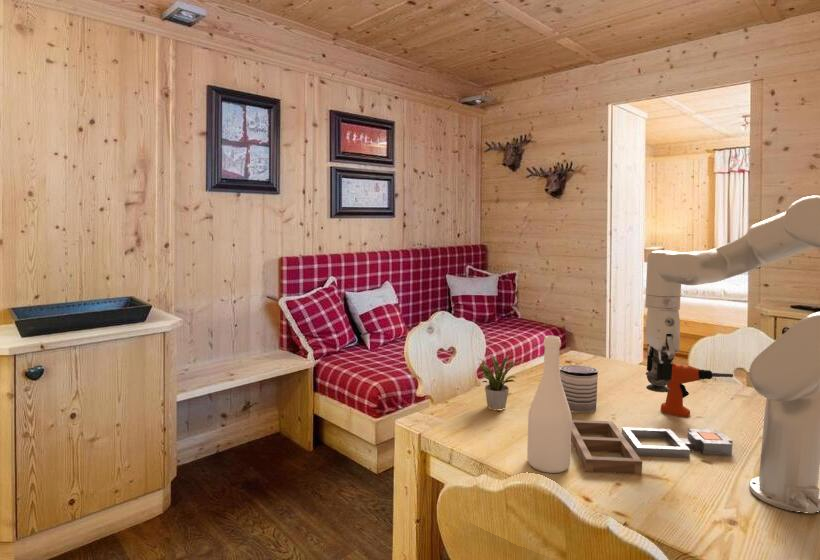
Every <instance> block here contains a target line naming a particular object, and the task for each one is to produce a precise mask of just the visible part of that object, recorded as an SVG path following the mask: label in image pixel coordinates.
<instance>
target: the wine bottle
mask: <svg viewBox="0 0 820 560" xmlns="http://www.w3.org/2000/svg"><path fill="white" fill-rule="evenodd" d="M561 340H562V339H561V338H560V336H558V335H546V336H545V337H544V339H543V347H544V354H543V355H544V356H543V369H542V370H543V372H542V375H541V379H540V382H539V384H538V386H537V389H536V392H535V395H534V396H533V399H532V402H531V404H530V407H529V411H528V416H527V418H528V419H527V420H528V421H527V448H526V449H527V453H526V454H527V457H526V459H527V462H528V464H529V465H530V466H531V467H532V468H533V469H535V470H537V471H539V472H543V473H547V474H548V473H549V474H557V473H562V472H565V471H567V470H568V469H569V467H570V464H571V447H572V446H571V445H572V442H571V425H572V420H573V417H572V416H573V415H572V412H571V411H570V408H569V405H568V402H567V399H566V395H565V392H564V389H563V385H562V382H561V379H560V369H559V368H560V348H561V346H562V345H561V344H562V341H561Z"/></svg>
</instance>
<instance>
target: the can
mask: <svg viewBox="0 0 820 560" xmlns="http://www.w3.org/2000/svg"><path fill="white" fill-rule="evenodd" d="M599 370H600V369H599V368H597V367H592V366H588V365H577V364H576V365H574V364H572V365H571V364H570V365H569V364H568V365H559V374H560V379H561V382H562V385H563V389H564V392H565V395H566V399H567V402H568V405H569V408H570V412H571V411H573V412H572V413H576V412H578V413H577V414H581V413H582V414H583V413H584V414H586V413H587V414H589V413H592V412H595V411H597V403H598V402H597V398H598V379H599V378H598V377H599V376H598V374H599Z"/></svg>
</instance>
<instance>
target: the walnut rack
mask: <svg viewBox="0 0 820 560" xmlns="http://www.w3.org/2000/svg"><path fill="white" fill-rule="evenodd" d="M581 434H584V435H585V434H586V435H587V434H588V435H608V436H609V437H598V436H597V437H595V436H581ZM571 445H572V446H573V449H574V448H575V449H574V450H575V453H576V454H577V457H578V458H579V461H580V462H581V465H582V467H583V470H584V471H585V473H600V474H601V473H602V474H619V475H620V474H621V475H622V474H624V475H642V473H643V460H642V459H641V458H640V456H638V455H637V454H636V452H635V451H634V450H633V448H632V447H631V445H630V444H629V443H628V441H627V440H626V439H625V437H624V436H623V435H622V431H621V430H620V428H618V426H617V425H616V424H615V423H614V421H611V420H610V421H609V420H608V421H607V420H583V419H581V420H579V419H572V425H571ZM591 452H593V453H594V452H596V453H597V452H598V453H617V454H618V453H619V454H621V457H614V456H613V457H612V456H592V455H591Z"/></svg>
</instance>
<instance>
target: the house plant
mask: <svg viewBox="0 0 820 560" xmlns="http://www.w3.org/2000/svg"><path fill="white" fill-rule="evenodd" d="M487 356H488V357H489V358H490V359H491V361H492V366H493V371H494V374H493V372H492V370H491V368H490V366H489V365H488V364H487V362H485V361H484V360H483V359H481V358H478V357H477V359H478V360H480V361H481V362H482V363H480V362H479V363H478V364H479V366H480V370H481V371H482V372H480V373H479V374H478V376H479V377H481V378H482V377H483V378H484V379H487V380H488V381H487V380H482V383H487V384H486V385H485V386H484V391H485V397H486V398H485V399H486V403H487V404H486V405H487V408H488V407H490V408H492V409H503V408H505V409H506V407H507V400H508V395H509V391H510V387H509V386H508V385H505V384H506V383H511V382H515V383H516V381H515V380H514V379H517V376H515V375H510V376H509V377H507V378H506V379H505V377H506V375H507V374H508V372H509V371H510V370H511V369H512V368H514V366H515V365H517V364H519V363H523V362H526V361H525V360H520V361H517V362H514V360H508V359H509V357H510V356H511V354H508V355H506V356H505V357H504V358H503V360H502V361H501V364H500V367H499V360H498V357H497V356H495V358H494V357H493V356H492V355H490V354H487ZM507 362H508V364H507V365H506V363H507ZM505 365H506V366H505ZM504 368H505V369H504ZM513 378H514V379H513Z"/></svg>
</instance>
